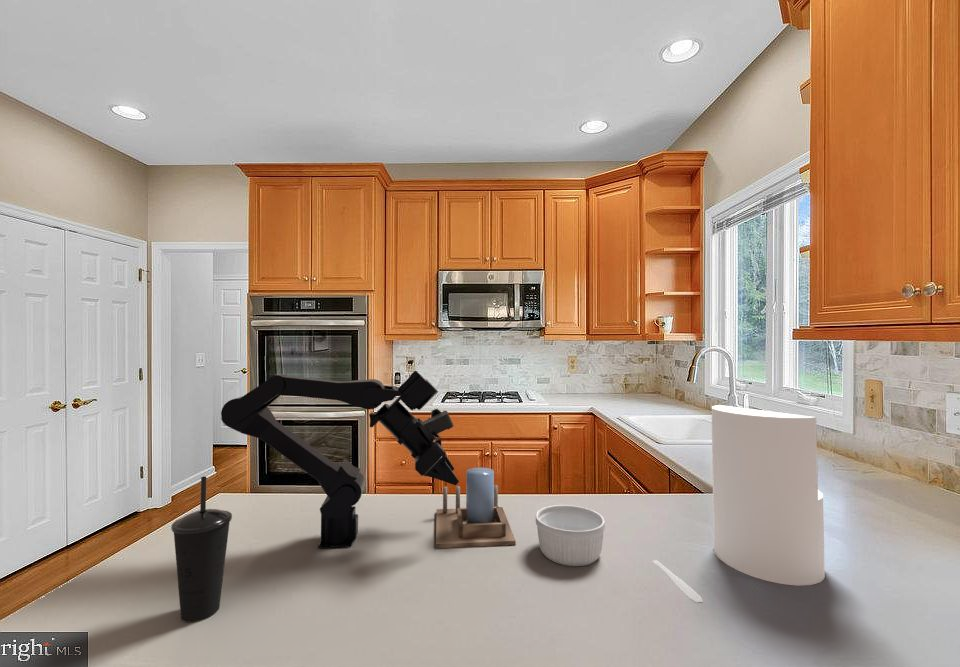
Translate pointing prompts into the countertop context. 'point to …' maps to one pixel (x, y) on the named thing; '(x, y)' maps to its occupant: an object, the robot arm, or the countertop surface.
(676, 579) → the butter knife
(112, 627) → the countertop surface
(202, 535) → the drinking cup
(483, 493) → the pale blue pillar candle
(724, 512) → the cylinder
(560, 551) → the ramekin
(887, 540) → the countertop surface
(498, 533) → the drying rack
